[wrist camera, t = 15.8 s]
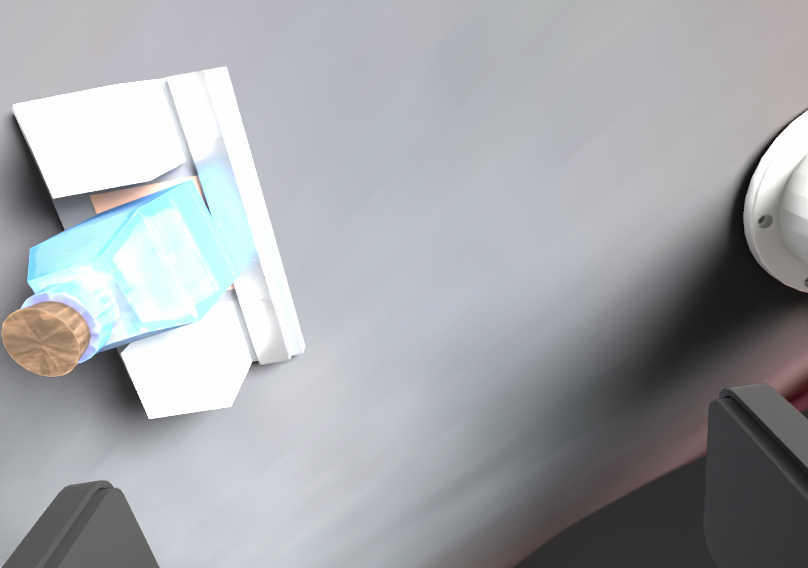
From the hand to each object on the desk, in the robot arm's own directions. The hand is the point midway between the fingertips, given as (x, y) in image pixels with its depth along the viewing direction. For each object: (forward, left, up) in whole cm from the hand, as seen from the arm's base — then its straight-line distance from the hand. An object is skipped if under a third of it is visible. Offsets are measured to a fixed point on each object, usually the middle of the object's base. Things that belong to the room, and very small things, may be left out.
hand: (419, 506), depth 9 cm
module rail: (+7, +13, -26) cm, 30 cm away
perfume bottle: (+7, +13, -25) cm, 29 cm away
